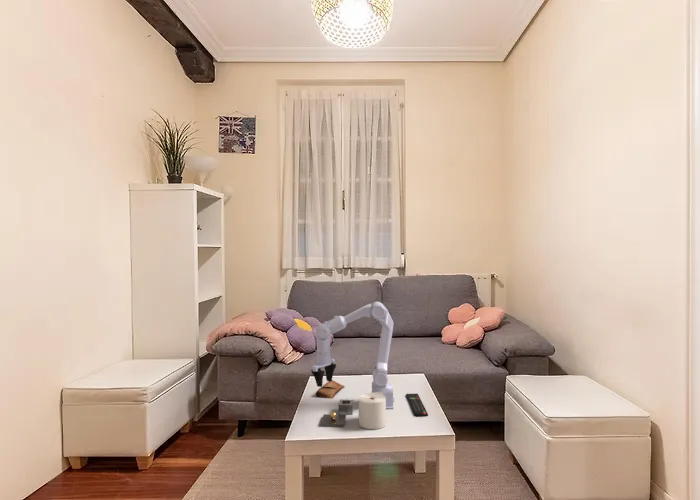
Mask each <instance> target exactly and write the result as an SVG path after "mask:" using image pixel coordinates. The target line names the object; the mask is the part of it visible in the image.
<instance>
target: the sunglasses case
mask: <svg viewBox="0 0 700 500" xmlns="http://www.w3.org/2000/svg"><path fill="white" fill-rule="evenodd" d="M345 387H346V386H344V385H342V384H341V383H339V382H337V381H335V380H333V379H332V381H331V382H330V381H327V382H326V383H325V384H324V385H323V384H322V387H319V389H318V390H317V391H316V392H315V397H316V398H320V399H329V400H330V399H331V400H332V399H334V398H335V396H336V395H338V393H339V392H340V391H342V390H343V389H345Z"/></svg>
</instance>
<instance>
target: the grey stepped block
mask: <svg viewBox="0 0 700 500" xmlns="http://www.w3.org/2000/svg"><path fill="white" fill-rule="evenodd" d="M354 409H355V407H354V399H340V400H339V402H338V415H346V416H347V415H348V416H349V415H350V416H351V415H353V413H354Z"/></svg>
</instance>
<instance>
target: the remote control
mask: <svg viewBox="0 0 700 500" xmlns="http://www.w3.org/2000/svg"><path fill="white" fill-rule="evenodd" d="M405 396H406V398H407V401H408V403H409V406H410V407H411V410H412V413H413V415H414V417H419V418H424V417H428V416H429V413H428V411H427V409H426V407H425V405H424V404H423V402H422V399H421V397H420V396H419V394H418V393H406V394H405Z"/></svg>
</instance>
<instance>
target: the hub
mask: <svg viewBox="0 0 700 500" xmlns="http://www.w3.org/2000/svg"><path fill="white" fill-rule="evenodd" d="M346 420H347V415H340V414H337V413H336V411H331V412H330V414H325V413H324V414H323V415H322V418H321V420H320V422H319V423H320V424H319V426H320V427H327V428H329V427H331V428H334V427H335V428H344V426H345V423H346Z"/></svg>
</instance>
